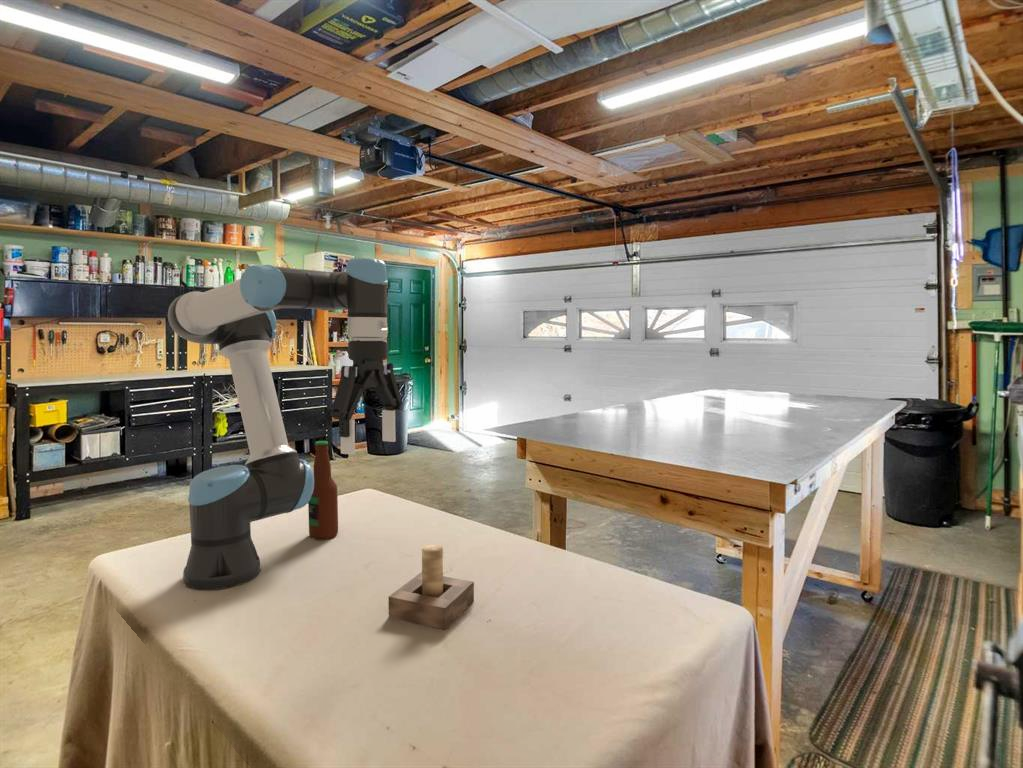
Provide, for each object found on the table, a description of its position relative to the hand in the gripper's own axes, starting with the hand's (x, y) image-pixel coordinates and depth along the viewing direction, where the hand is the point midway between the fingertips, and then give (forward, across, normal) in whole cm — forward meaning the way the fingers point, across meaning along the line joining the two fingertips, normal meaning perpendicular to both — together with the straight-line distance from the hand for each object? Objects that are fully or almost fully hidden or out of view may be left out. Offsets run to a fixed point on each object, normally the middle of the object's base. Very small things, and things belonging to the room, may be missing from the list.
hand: (369, 447), depth 115 cm
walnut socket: (+31, 0, -14) cm, 34 cm away
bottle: (+31, +25, +32) cm, 51 cm away
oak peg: (+31, 0, -14) cm, 34 cm away
